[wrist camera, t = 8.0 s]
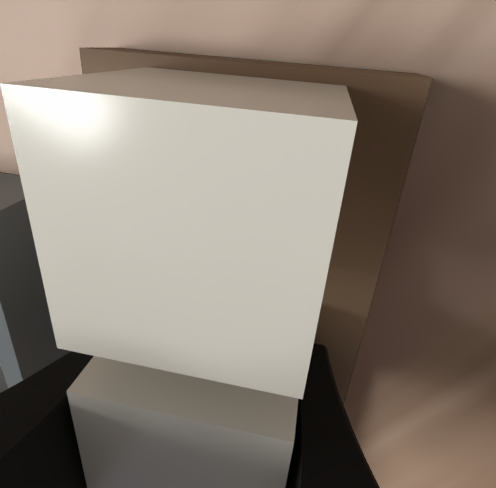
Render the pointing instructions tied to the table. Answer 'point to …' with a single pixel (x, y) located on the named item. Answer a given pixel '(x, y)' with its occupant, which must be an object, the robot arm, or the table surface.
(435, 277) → the table surface
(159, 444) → the off-white stacked cube
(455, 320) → the table surface
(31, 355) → the bin
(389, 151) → the brown flat slab
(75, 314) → the off-white block
